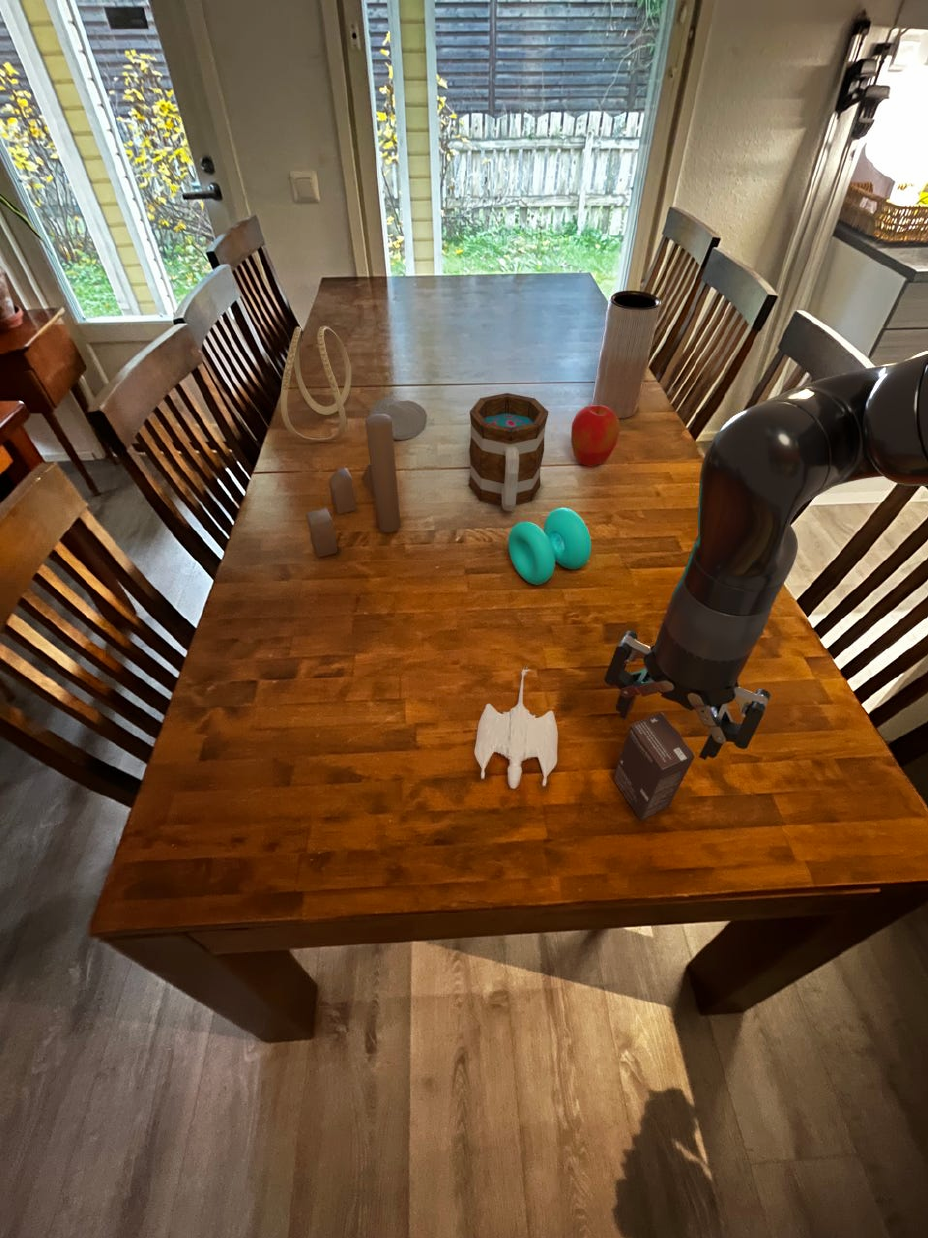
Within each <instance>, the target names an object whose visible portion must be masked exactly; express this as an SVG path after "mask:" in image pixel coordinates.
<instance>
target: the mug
mask: <svg viewBox="0 0 928 1238" xmlns="http://www.w3.org/2000/svg"><path fill="white" fill-rule="evenodd" d="M473 405H474V406H472V408H471V409H470V410H469V419H470V427H471V428H470V440H469V447H468V448H469V449H468V453H469V463H470V464H469V465H470V466H469V467H470V468H469V469H470V470H469V479H468V487H469V489H470V490H471V492H472V493H473V494H474V495H475V497H476V498H477V500H478V501H479V502H483V503H487V504H490V505H494V506H499V507H501V508H502V509H503V510H504V511H508V512H509V511H510V512H511V511H513V510H515V509H516V506H518V505H522V504H527V503H530V502H532V501H533V500H534V498H535V496H536V495H537V493H538V491H539V490H540V488H541V470H542V462H543V458H544V453H545V433H546V424H547V420H548V417H549V410H547V409H546V407H544V406H543V405H542V404H541V403H540V401H538V400H537V399H536V398H535V397H531V396H525V395H520V394H515V393H509V392H505V393H500V394H499V393H498V394H493V395H489V396H484V397H480V398H479V399H478V400H477V402H476V403H475V404H473Z"/></svg>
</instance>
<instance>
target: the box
mask: <svg viewBox="0 0 928 1238" xmlns="http://www.w3.org/2000/svg"><path fill="white" fill-rule="evenodd" d="M695 757H696V755H695V753H694V752H693V750H691V748H690V747H689V746H688V745H687V743H686V742H685V741H684V739H683V737H682V735H681V733H680V731H679V730H678V729H677V728H675V726H673V725H672V724H671V723H670V721H669V720H668V718H667V717H666V716H665V715H664V713H663V712H658V713H656V714H653V715H652V716H649V717H646V718H644V719H641V720H638V721H636V722H633V723H631V724H630V725H629V729H628V731H627V735H626V737H625V740H624V743H623V746H622V750H621V753H620V755H619V758H618V761H617V763H616V766H615V770H614V773H613V775H612V781H613V782H614V784H615V785H616V787H617V788H618V789H619V791H620V793H621V794H622V796H623V797H624V798H625V800H626V802H627V803H628V804H629V807H631V809H632V811H633V812H634V814H635V816H636V818H637V819H638V820H639V821H642V820H644V819H646V818H648V817H651V816H653V815H655V814H657V813H660V812H662V811H665V810H666V809H669V808H670V806H671V804H672V802H673V800H674V798H675V796H676V794H677V792H678V790H679V788H680V786H681V784H682V782H683V781H684V778H685V776H686V775H687V773H688V771H689V768H690V767H691V765H692V763H693V761H694V759H695Z"/></svg>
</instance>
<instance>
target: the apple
mask: <svg viewBox="0 0 928 1238" xmlns="http://www.w3.org/2000/svg"><path fill="white" fill-rule="evenodd" d="M619 419H620V418H618V417H617V415H616V414H615V413H614V412H613V411H612V410H611V409H610V408H608V407H607V406H602V405H592V404H589V405H586V406H584V407H583V408H581V409H580V410H578V412H577V413H576V414H575V416H574V418H573V421H572V423H571V436H570V443H571V448H572V452H573V456H574V457H575V459H576V460H577V461H578V462H579V463H580V464H581V465H583V466H587V467H592V466H596V465H598V464H601V463H603V462H606V461H607V460H608V459H609V457H610V455H611V454H612V452H613V450H614V449H615V447H616V445H617V442H618V439H619V436H620V434H621V433H620V432H621V427H620V420H619Z"/></svg>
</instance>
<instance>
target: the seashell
mask: <svg viewBox="0 0 928 1238" xmlns="http://www.w3.org/2000/svg"><path fill="white" fill-rule="evenodd" d="M373 414H386V415H388V416H390V417H391V419H392V428H393V440H394V441H405V440H410V439H412V438H414V437H417V435H419V434H420V433H421V432H422V431H423V429H424V428H425V427H426V425H427V421H428V420H427V419H428V414H427V411H426V409H425V408H424V407H423V406H422V405H420V404H418V403H417V402H415V401H412V400H403V399H399V398H395V397H392V396H390V397H384V398H381V399H378V400H377V401H376V402H375V403H374V404H373V405H372V407H371V408H370V410H369V416H370V415H373Z"/></svg>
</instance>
